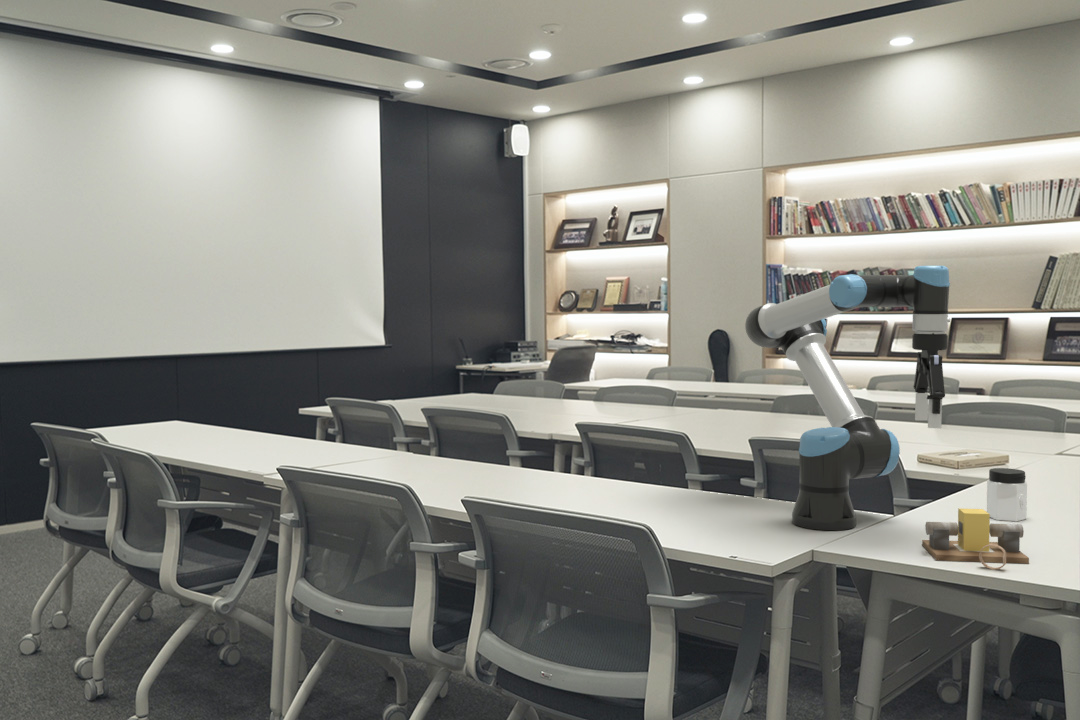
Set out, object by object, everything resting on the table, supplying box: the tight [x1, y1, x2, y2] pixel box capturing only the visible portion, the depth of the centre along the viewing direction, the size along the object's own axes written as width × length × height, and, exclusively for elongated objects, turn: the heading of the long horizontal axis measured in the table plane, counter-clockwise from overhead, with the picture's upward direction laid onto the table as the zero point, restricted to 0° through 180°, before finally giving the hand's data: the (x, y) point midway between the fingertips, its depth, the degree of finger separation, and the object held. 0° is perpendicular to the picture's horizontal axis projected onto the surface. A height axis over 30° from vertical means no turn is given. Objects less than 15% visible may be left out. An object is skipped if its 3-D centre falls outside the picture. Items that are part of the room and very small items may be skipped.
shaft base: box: [921, 521, 1030, 564], centre depth 198 cm, size 19×13×7 cm
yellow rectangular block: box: [957, 507, 991, 551], centre depth 198 cm, size 5×5×8 cm
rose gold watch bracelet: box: [979, 544, 1007, 571], centre depth 187 cm, size 3×5×5 cm, turn 55°
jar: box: [986, 467, 1028, 523], centre depth 232 cm, size 9×8×12 cm
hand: (927, 424), depth 214 cm, fingers open, 13 cm apart
